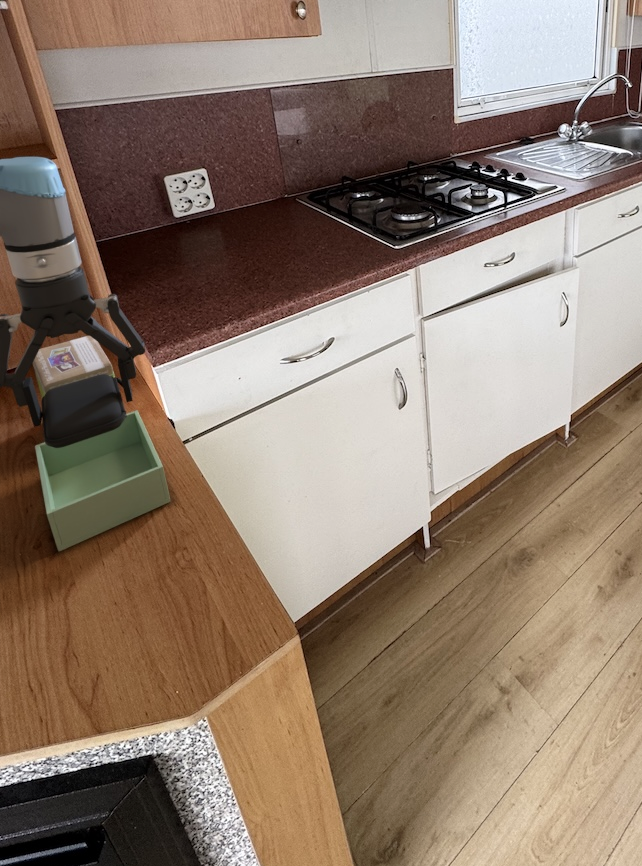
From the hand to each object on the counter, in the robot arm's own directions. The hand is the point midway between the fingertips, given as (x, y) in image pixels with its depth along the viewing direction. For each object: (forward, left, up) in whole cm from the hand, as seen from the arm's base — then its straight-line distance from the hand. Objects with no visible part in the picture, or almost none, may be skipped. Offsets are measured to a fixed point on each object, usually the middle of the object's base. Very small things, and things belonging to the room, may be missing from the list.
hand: (85, 408), depth 86 cm
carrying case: (0, 0, -2) cm, 2 cm away
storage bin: (0, +1, -16) cm, 16 cm away
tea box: (-3, +21, -16) cm, 26 cm away
